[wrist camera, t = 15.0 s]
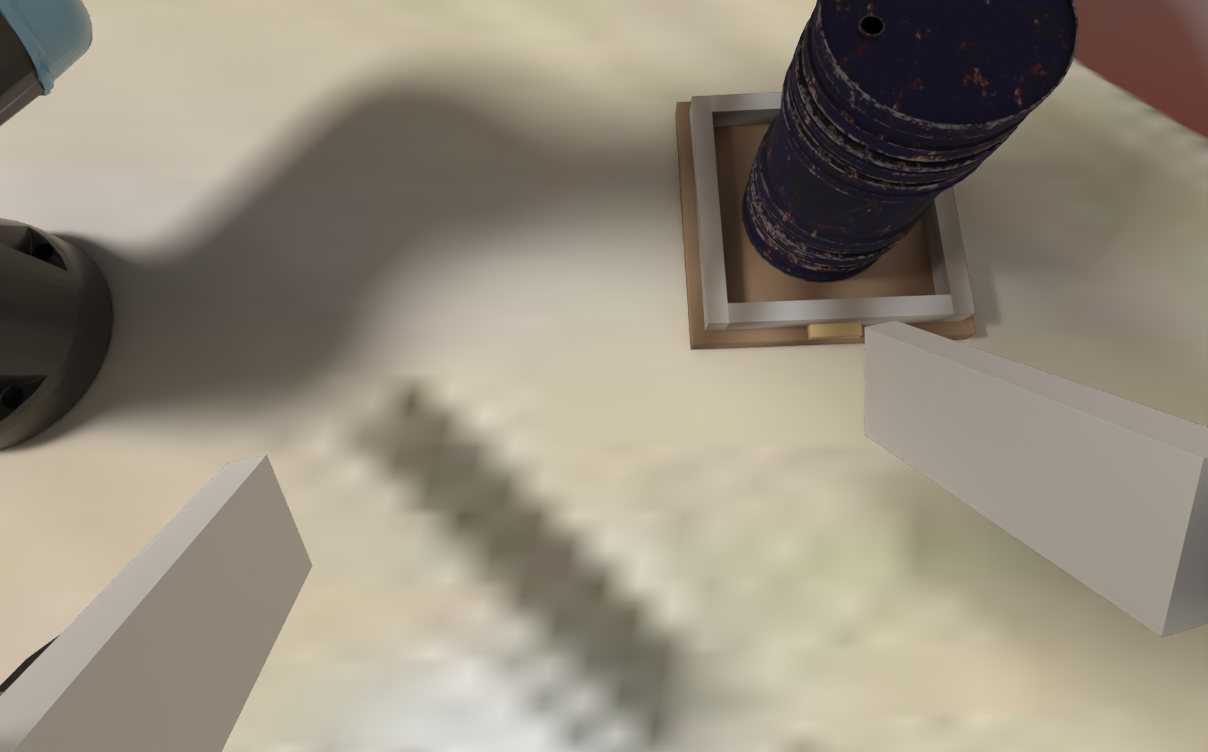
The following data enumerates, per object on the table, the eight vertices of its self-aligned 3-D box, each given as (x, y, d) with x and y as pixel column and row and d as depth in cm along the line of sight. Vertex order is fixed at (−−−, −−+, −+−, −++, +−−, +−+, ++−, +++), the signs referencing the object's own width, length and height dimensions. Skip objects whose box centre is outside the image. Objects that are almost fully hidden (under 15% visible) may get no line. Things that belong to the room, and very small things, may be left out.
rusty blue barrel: (878, 135, 37) (1041, -102, 23) (912, 274, 35) (1118, 111, 20) (727, 153, 37) (793, -71, 23) (752, 293, 35) (842, 144, 21)
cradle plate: (690, 349, 36) (695, 337, 33) (675, 114, 39) (679, 86, 37) (964, 339, 35) (991, 325, 33) (922, 102, 39) (944, 72, 36)
